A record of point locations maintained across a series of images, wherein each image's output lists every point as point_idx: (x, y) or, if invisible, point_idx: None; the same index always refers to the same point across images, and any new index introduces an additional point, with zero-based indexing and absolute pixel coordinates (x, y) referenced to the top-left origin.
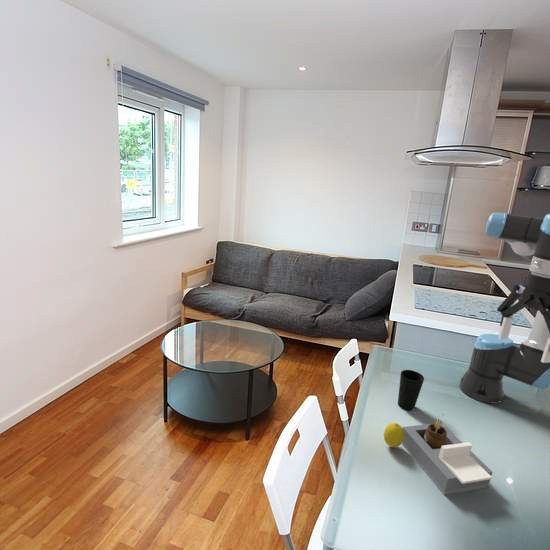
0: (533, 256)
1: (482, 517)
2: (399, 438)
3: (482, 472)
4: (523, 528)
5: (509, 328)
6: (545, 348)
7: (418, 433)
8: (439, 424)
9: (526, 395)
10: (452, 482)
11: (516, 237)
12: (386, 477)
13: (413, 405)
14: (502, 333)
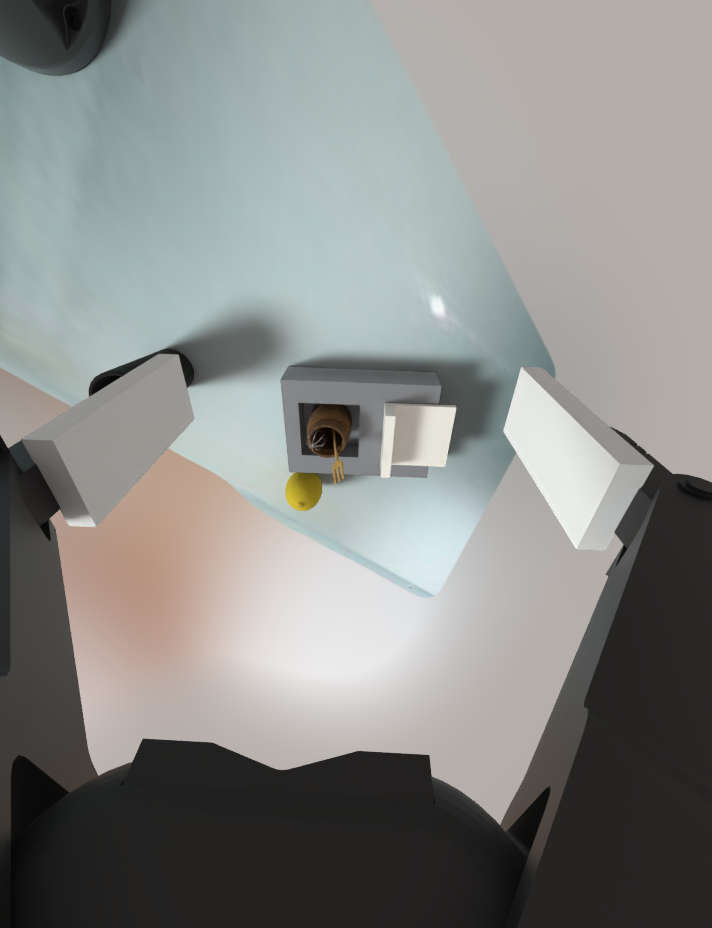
0: None
1: (478, 431)
2: (320, 494)
3: (440, 416)
4: None
5: (136, 401)
6: (542, 485)
7: (302, 441)
8: (341, 470)
9: None
10: None
11: None
12: (369, 514)
13: (187, 370)
14: (173, 433)
